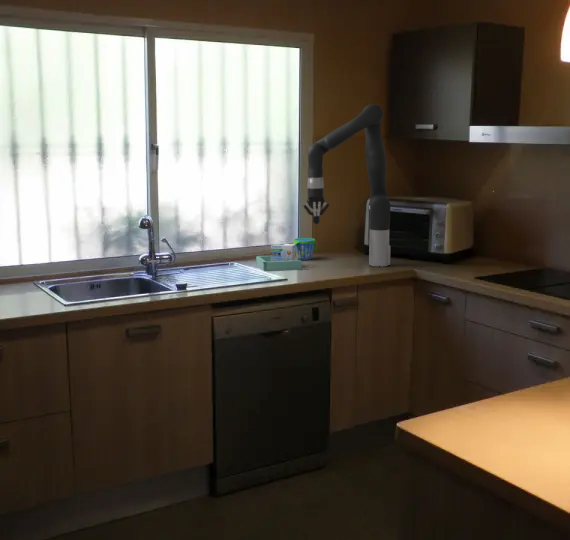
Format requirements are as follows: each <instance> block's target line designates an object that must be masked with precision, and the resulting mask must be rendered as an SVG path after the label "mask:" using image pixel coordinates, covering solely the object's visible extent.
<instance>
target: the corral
mask: <svg viewBox="0 0 570 540" xmlns="http://www.w3.org/2000/svg"><path fill="white" fill-rule="evenodd" d="M255 265H256V266H257V267H258V266H259V267H258V268H259V269H261V270H262V271H263V270H264V272H270V271H272V270H274V271H289V270H290V271H295V270H302V269H303V266H302V265H303V260H298V259H297V260H296V259H295V261H271V255H257V256H255Z"/></svg>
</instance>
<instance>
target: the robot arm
mask: <svg viewBox="0 0 570 540" xmlns="http://www.w3.org/2000/svg"><path fill="white" fill-rule="evenodd" d="M383 117H384V110H383V108H382V107H381V106H380V105H379V104H376V103H371V104H368V105H366V106H365V107H364V108H363V110H362V111H361V112H360V113H359V114H358V115H357V116H356V117H353V118H352V119H351V120H349V121H348V122H346V123H344V124H343V125H341V126H339V127H337V128H336V129H333V130H332V131H331V132H329V133H328V134H326V135H325V136H323V137H322V138H321V139H319V140H316V141H315V142H313V143H311V144H310V145H309V146H308V148H307V151H306V153H307V160H308V162H307V164H308V165H307V181H306V182H307V200H306V202H305V203H304V204H302V208H303V209H304V210H305V211H306V213H307V214H308V215H309V216H312V224H314V225H319V223H320V216H322V215H324V214H325V212H326V211H327V210H328V209H329V206H330V204H329V203H327V202H325V198H324V197H325V194H324V187H325V186H324V173H323V171H324V170H323V159H324V156H323V155H325V154H326V153H328V152H330V151H332V150H333V149H335V148H338V147H339V146H340V145H341V144H343V143H345V142H346V141H348V140H349V139H350V138H352V137H353V136H355V135H356V134H358V133H359V132H362V130H364V133H365V162H366V170H367V177H368V181H369V188H370V189H369V190H370V193H369V194H370V198H369V199H370V200H369V207H370V208H369V209H370V210H369V211H370V214H369V215H370V217H369V245H368V247H369V249H368V251H369V252H368V253H369V254H368V262H369V263H368V265H369V266H370V265H371V266H372V267H379V266H380V267H387V266H388V265H390V266H391V245H390V226H391V225H390V224H391V201H390V199H389V198H388V193H387V192H388V191H387V186H386V179H387V155H386V149H385V145H384V141H383V138H382V136H383V135H382V131H381V130H382V125H381V124H382V122H381V121H382V119H383ZM309 208H310V209H311V210H310V209H309Z"/></svg>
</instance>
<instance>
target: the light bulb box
mask: <svg viewBox="0 0 570 540" xmlns="http://www.w3.org/2000/svg"><path fill="white" fill-rule="evenodd" d="M295 251H296V249H295V244H293V243H285V242H284V243H282V242H281V243H278V242H274V243H273V244H271V245H270V256H271V261H296V254H295Z"/></svg>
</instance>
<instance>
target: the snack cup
mask: <svg viewBox="0 0 570 540" xmlns="http://www.w3.org/2000/svg"><path fill="white" fill-rule="evenodd" d="M292 244H295V256H296V259H297V260H301V261H309V260H312V258H313V255H314V252H317V250H318V246H317V245H318V244H317V241H316V239H315V238H313V237H298V238H294V239H293V243H292Z"/></svg>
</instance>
